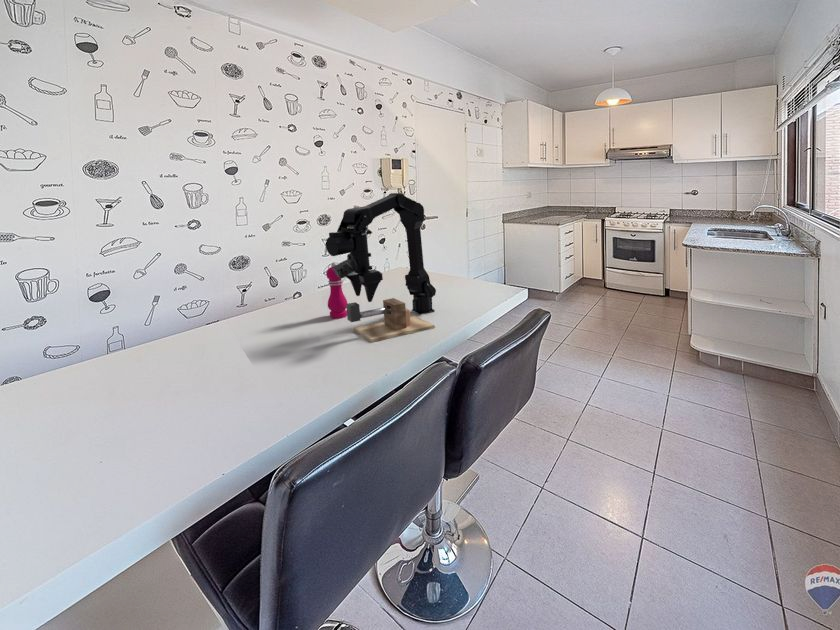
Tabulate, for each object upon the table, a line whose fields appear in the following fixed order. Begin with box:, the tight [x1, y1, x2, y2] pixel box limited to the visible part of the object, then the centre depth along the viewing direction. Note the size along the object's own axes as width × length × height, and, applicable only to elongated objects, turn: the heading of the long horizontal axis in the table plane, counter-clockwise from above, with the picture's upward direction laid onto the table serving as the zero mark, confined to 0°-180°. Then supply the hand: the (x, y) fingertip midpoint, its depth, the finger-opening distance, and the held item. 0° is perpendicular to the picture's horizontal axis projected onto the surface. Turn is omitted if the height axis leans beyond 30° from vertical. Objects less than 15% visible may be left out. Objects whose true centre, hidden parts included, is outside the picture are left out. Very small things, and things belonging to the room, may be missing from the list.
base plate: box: [353, 314, 436, 343], centre depth 148 cm, size 23×14×1 cm, turn 120°
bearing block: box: [382, 297, 407, 330], centre depth 147 cm, size 4×8×8 cm, turn 30°
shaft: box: [346, 302, 391, 323], centre depth 142 cm, size 16×3×5 cm, turn 120°
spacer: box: [406, 308, 411, 327], centre depth 149 cm, size 2×5×5 cm, turn 30°
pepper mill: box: [325, 262, 348, 319], centre depth 162 cm, size 7×7×20 cm
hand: (363, 298), depth 143 cm, fingers open, 9 cm apart
